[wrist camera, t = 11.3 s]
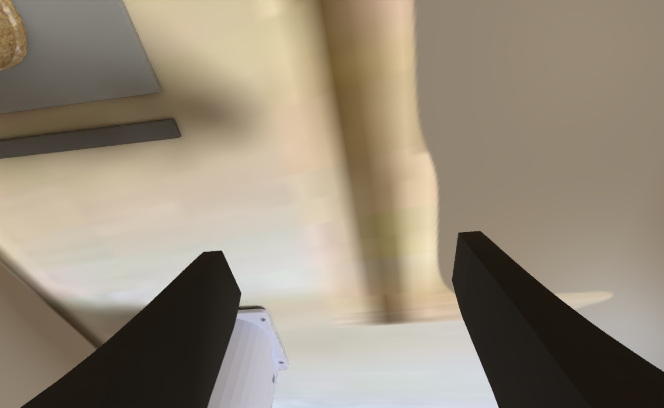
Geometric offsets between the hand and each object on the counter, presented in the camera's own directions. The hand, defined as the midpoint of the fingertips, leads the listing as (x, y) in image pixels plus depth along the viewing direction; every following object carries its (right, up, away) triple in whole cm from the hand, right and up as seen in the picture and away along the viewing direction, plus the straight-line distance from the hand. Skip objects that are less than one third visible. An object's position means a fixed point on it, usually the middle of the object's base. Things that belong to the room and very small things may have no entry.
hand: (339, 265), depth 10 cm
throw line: (-16, +6, +8) cm, 19 cm away
